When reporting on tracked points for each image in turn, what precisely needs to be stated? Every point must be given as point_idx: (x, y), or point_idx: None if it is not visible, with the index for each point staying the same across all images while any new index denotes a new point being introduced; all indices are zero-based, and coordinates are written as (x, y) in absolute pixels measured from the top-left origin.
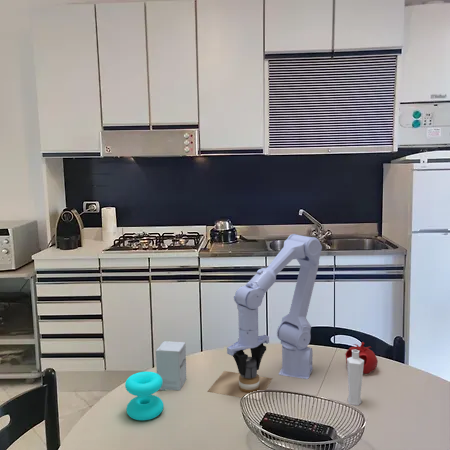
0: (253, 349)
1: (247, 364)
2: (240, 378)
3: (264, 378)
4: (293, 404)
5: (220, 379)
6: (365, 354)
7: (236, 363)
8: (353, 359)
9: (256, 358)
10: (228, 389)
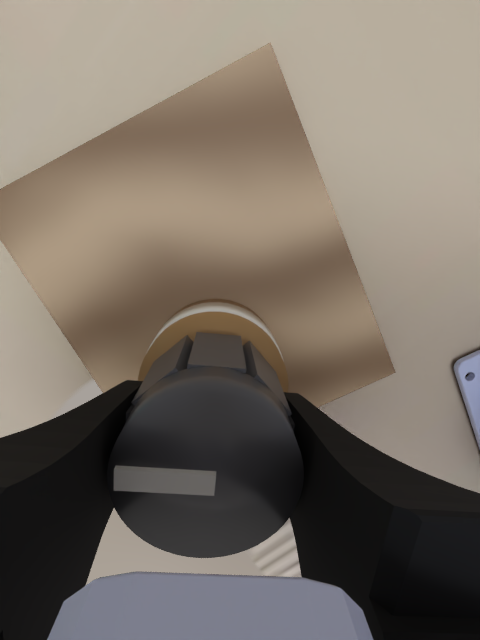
0: (347, 560)
1: (137, 521)
2: (147, 367)
3: (364, 342)
4: (261, 566)
5: (153, 137)
6: None
7: (66, 416)
8: None
9: (303, 510)
10: (107, 284)
